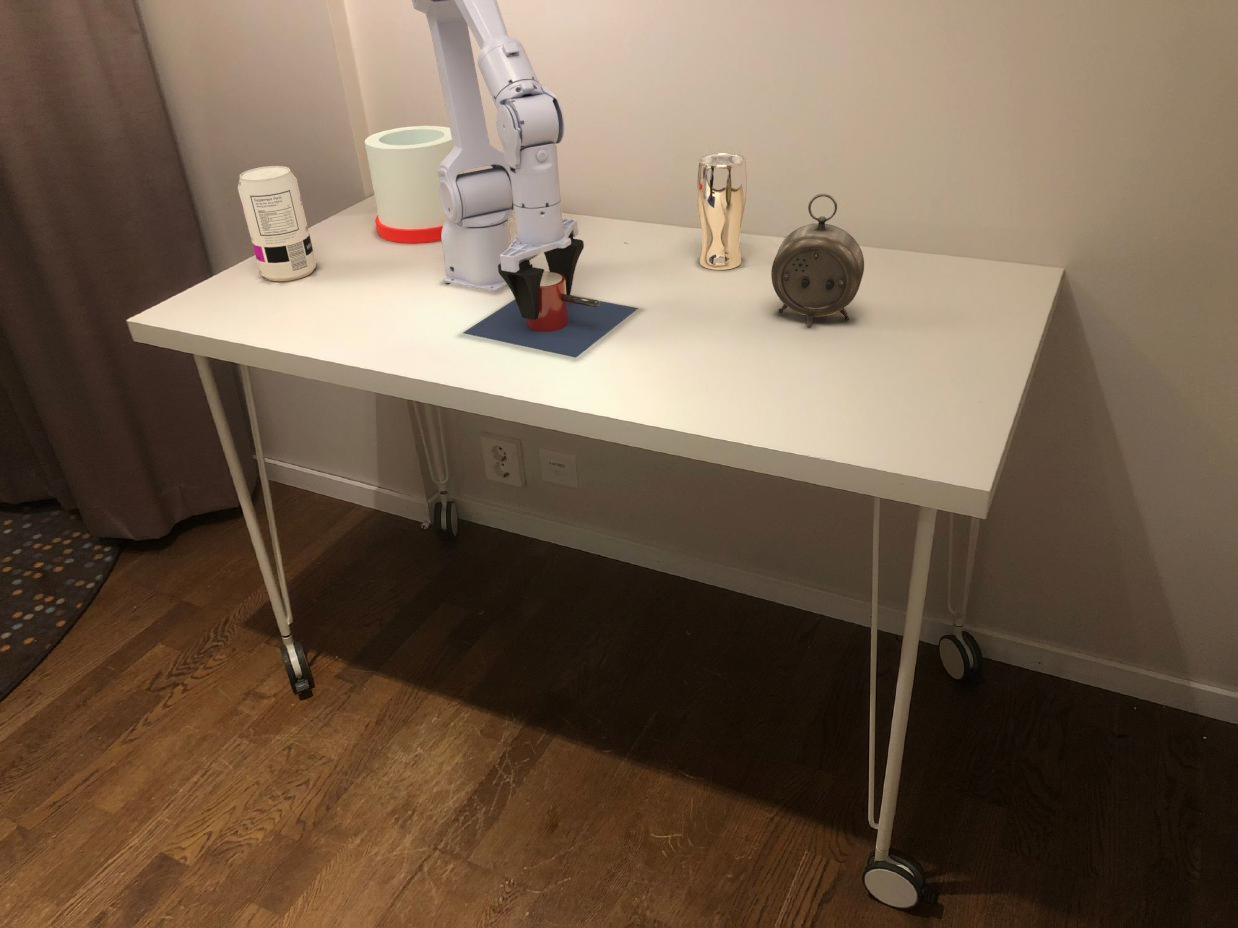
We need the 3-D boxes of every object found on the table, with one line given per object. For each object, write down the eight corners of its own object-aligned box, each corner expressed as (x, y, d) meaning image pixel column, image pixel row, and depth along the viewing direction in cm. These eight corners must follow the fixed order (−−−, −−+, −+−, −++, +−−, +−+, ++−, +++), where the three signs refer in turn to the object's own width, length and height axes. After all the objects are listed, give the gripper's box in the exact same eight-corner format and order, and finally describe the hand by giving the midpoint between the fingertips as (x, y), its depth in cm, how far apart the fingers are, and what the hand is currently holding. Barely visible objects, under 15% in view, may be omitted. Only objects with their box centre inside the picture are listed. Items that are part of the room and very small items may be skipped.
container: (491, 216, 159) (481, 128, 151) (439, 247, 147) (425, 153, 139) (413, 208, 165) (399, 122, 157) (357, 237, 153) (339, 146, 145)
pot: (518, 327, 120) (514, 283, 117) (541, 311, 124) (537, 268, 121) (590, 342, 115) (587, 296, 112) (611, 325, 119) (609, 280, 116)
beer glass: (742, 272, 133) (745, 166, 125) (693, 270, 135) (693, 165, 127) (746, 255, 139) (749, 152, 131) (699, 253, 140) (700, 152, 132)
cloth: (462, 334, 119) (462, 332, 119) (531, 290, 131) (531, 288, 131) (575, 359, 112) (575, 357, 112) (638, 310, 124) (638, 308, 124)
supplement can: (249, 280, 139) (222, 179, 131) (285, 260, 145) (261, 163, 137) (293, 285, 136) (268, 183, 128) (328, 265, 143) (306, 166, 134)
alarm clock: (859, 316, 119) (872, 189, 110) (853, 334, 115) (867, 204, 106) (774, 308, 122) (780, 184, 114) (766, 325, 118) (772, 198, 109)
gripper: (531, 223, 105) (541, 333, 112) (595, 188, 116) (601, 291, 123) (480, 216, 108) (494, 324, 115) (548, 182, 119) (556, 283, 126)
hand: (546, 306), depth 119 cm, fingers open, 7 cm apart
